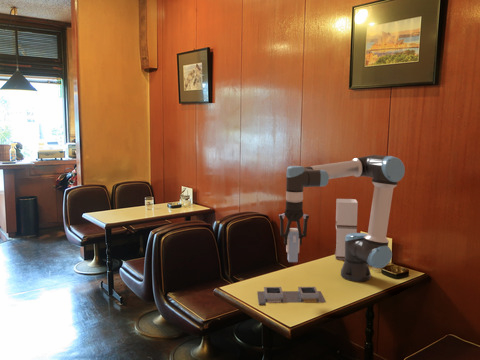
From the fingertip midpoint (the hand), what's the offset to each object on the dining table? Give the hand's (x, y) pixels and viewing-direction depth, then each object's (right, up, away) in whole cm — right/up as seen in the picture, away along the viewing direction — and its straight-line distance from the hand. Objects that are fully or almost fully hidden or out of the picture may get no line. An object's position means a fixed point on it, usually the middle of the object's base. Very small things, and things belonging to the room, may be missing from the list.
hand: (292, 251), depth 174 cm
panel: (-1, -22, +3) cm, 22 cm away
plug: (0, -4, 0) cm, 4 cm away
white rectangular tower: (+40, -15, +61) cm, 74 cm away
